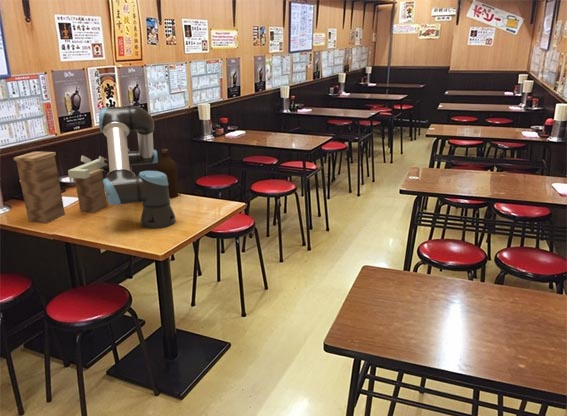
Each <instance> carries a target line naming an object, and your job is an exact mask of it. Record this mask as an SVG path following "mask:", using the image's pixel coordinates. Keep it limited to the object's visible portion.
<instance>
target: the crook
mask: <svg viewBox="0 0 567 416" xmlns="http://www.w3.org/2000/svg"><path fill="white" fill-rule="evenodd" d="M98 161H99V158H96V159H95V160H92V161H91V162H89V163H86V164H85V163H83V164H81V165H78V166H75V167H74V168H71V169H68V170H67V174H68V175H67V176H68V178H69V179H75V178H84V179H86V178H88V177H90V174H89V172H91V171H94V170H96V169H99V168H101V167H103V166H106V165H104V164H102V163H100V162H98Z"/></svg>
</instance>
